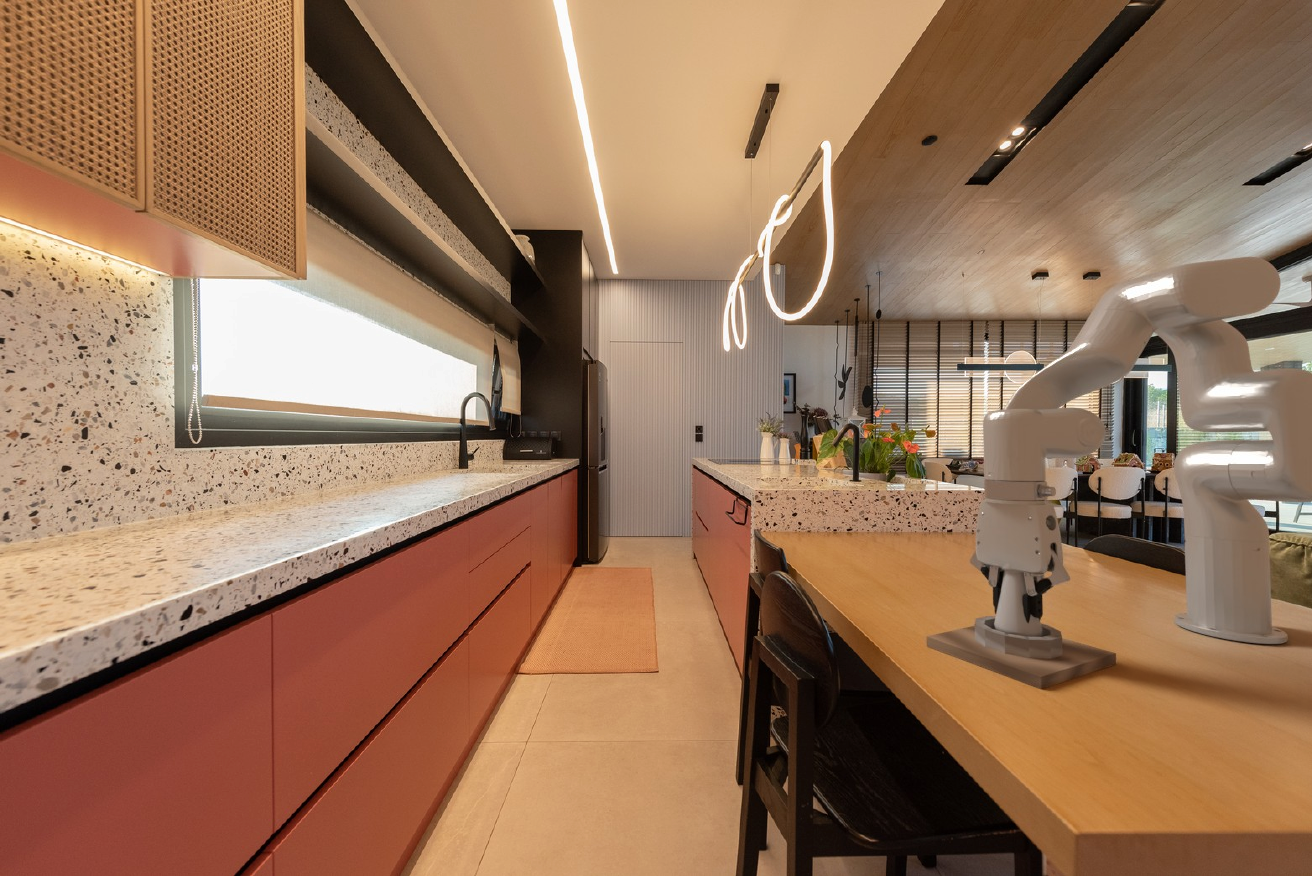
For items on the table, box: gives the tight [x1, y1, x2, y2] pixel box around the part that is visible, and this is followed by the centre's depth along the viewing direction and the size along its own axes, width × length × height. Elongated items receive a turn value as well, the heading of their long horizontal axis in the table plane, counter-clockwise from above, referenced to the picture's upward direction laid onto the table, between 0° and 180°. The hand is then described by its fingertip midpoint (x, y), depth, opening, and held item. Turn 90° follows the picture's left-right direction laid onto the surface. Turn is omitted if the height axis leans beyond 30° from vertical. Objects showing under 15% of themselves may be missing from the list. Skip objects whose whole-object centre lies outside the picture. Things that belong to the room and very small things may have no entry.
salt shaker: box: [994, 563, 1042, 637], centre depth 77 cm, size 6×6×13 cm
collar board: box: [926, 615, 1117, 690], centre depth 76 cm, size 18×16×4 cm
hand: (1017, 616), depth 77 cm, fingers open, 3 cm apart
